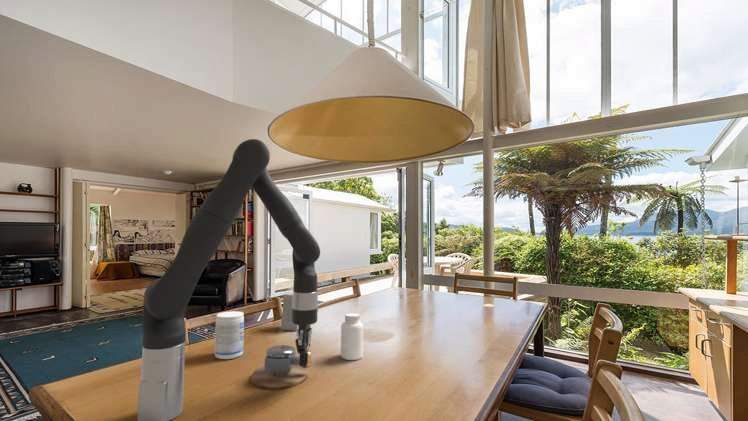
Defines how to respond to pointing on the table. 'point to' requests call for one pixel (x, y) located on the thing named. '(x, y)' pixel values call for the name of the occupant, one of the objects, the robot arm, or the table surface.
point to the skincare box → (288, 313)
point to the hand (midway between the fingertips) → (303, 365)
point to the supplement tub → (229, 335)
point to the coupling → (282, 359)
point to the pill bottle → (352, 337)
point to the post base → (279, 378)
